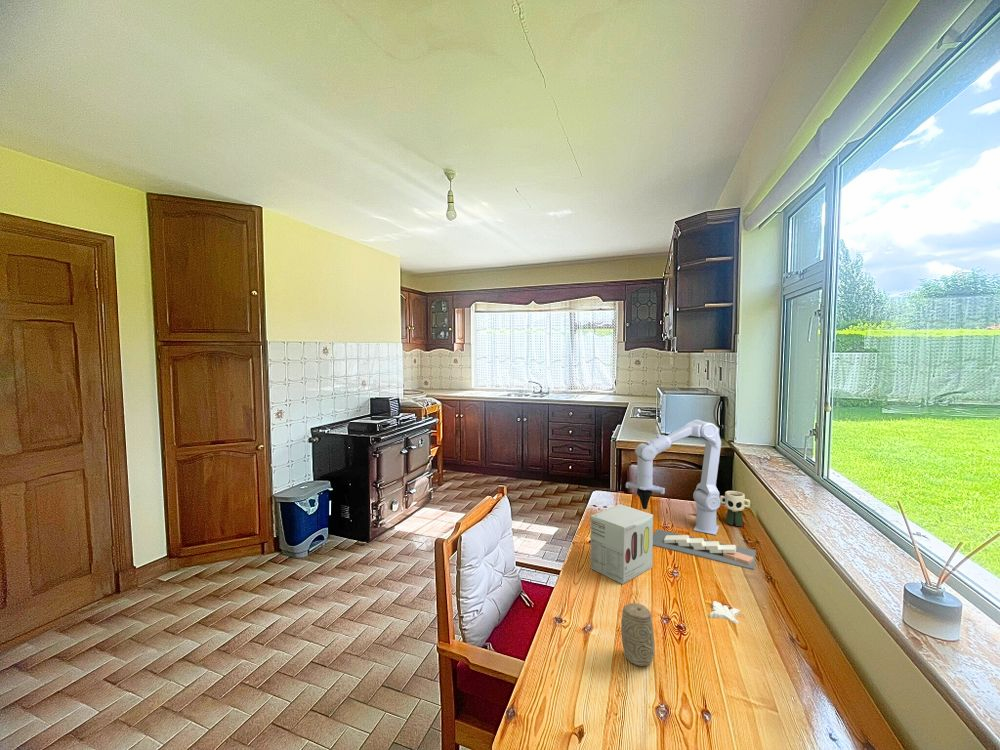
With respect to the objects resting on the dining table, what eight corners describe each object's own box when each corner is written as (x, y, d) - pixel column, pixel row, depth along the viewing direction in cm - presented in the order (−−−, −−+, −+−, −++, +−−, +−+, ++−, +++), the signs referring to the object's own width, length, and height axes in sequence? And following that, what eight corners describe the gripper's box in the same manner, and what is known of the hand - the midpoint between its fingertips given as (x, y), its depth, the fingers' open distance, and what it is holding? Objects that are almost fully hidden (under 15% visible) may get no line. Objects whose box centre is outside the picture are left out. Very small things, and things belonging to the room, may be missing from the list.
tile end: (728, 549, 146) (753, 557, 140) (728, 552, 146) (753, 560, 140) (723, 553, 143) (748, 561, 137) (723, 556, 143) (748, 565, 137)
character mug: (719, 524, 171) (719, 493, 170) (719, 518, 177) (720, 489, 177) (749, 530, 166) (750, 498, 165) (749, 523, 172) (750, 493, 171)
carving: (627, 644, 101) (627, 596, 100) (658, 658, 96) (659, 608, 96) (616, 659, 96) (616, 609, 95) (648, 675, 91) (649, 622, 91)
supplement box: (624, 585, 127) (624, 528, 126) (589, 569, 137) (589, 515, 136) (654, 567, 138) (654, 513, 137) (619, 552, 148) (620, 503, 147)
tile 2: (680, 538, 155) (703, 538, 151) (681, 541, 155) (704, 541, 151) (678, 543, 151) (701, 542, 147) (678, 546, 151) (702, 546, 147)
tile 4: (710, 545, 150) (735, 544, 145) (711, 548, 149) (736, 548, 145) (709, 549, 146) (734, 549, 141) (710, 553, 146) (735, 553, 141)
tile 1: (666, 535, 158) (688, 535, 154) (667, 538, 158) (689, 538, 153) (663, 539, 154) (686, 539, 150) (664, 543, 154) (687, 543, 150)
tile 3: (695, 541, 152) (718, 541, 148) (695, 544, 152) (719, 544, 148) (693, 546, 149) (717, 546, 144) (693, 549, 148) (718, 549, 144)
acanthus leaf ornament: (709, 619, 111) (709, 612, 111) (709, 605, 117) (709, 599, 117) (741, 627, 108) (741, 620, 108) (739, 612, 114) (739, 606, 114)
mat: (656, 530, 167) (656, 529, 167) (755, 551, 148) (756, 550, 148) (647, 544, 154) (647, 543, 154) (753, 569, 135) (753, 568, 135)
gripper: (623, 474, 164) (623, 507, 165) (661, 479, 156) (661, 515, 157) (628, 469, 170) (628, 502, 170) (666, 475, 162) (665, 509, 162)
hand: (644, 508), depth 164 cm, fingers closed
